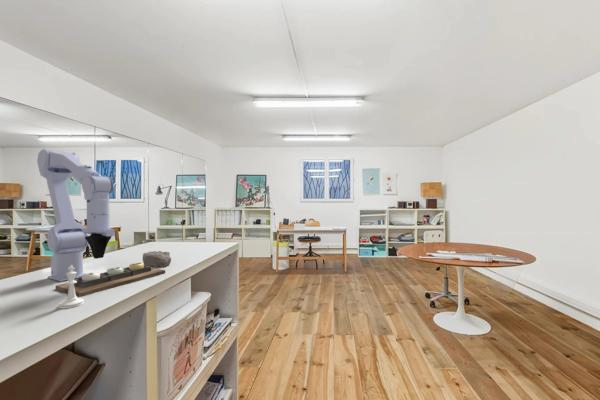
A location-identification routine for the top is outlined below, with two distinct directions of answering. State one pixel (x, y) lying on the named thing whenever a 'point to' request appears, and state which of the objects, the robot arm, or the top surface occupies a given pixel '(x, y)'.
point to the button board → (110, 280)
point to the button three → (136, 266)
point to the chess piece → (71, 292)
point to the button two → (115, 270)
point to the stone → (156, 259)
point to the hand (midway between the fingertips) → (98, 257)
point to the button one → (90, 276)
